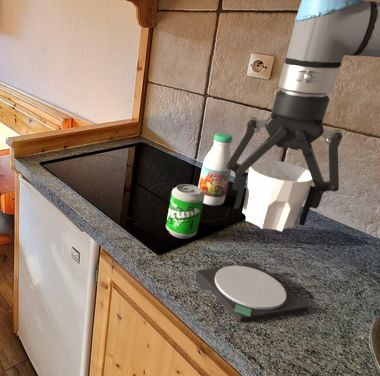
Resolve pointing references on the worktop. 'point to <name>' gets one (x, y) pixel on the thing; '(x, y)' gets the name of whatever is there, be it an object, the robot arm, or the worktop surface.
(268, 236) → the worktop surface
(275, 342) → the worktop surface
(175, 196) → the soda can
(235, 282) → the scale
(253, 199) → the cup
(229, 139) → the milk bottle
